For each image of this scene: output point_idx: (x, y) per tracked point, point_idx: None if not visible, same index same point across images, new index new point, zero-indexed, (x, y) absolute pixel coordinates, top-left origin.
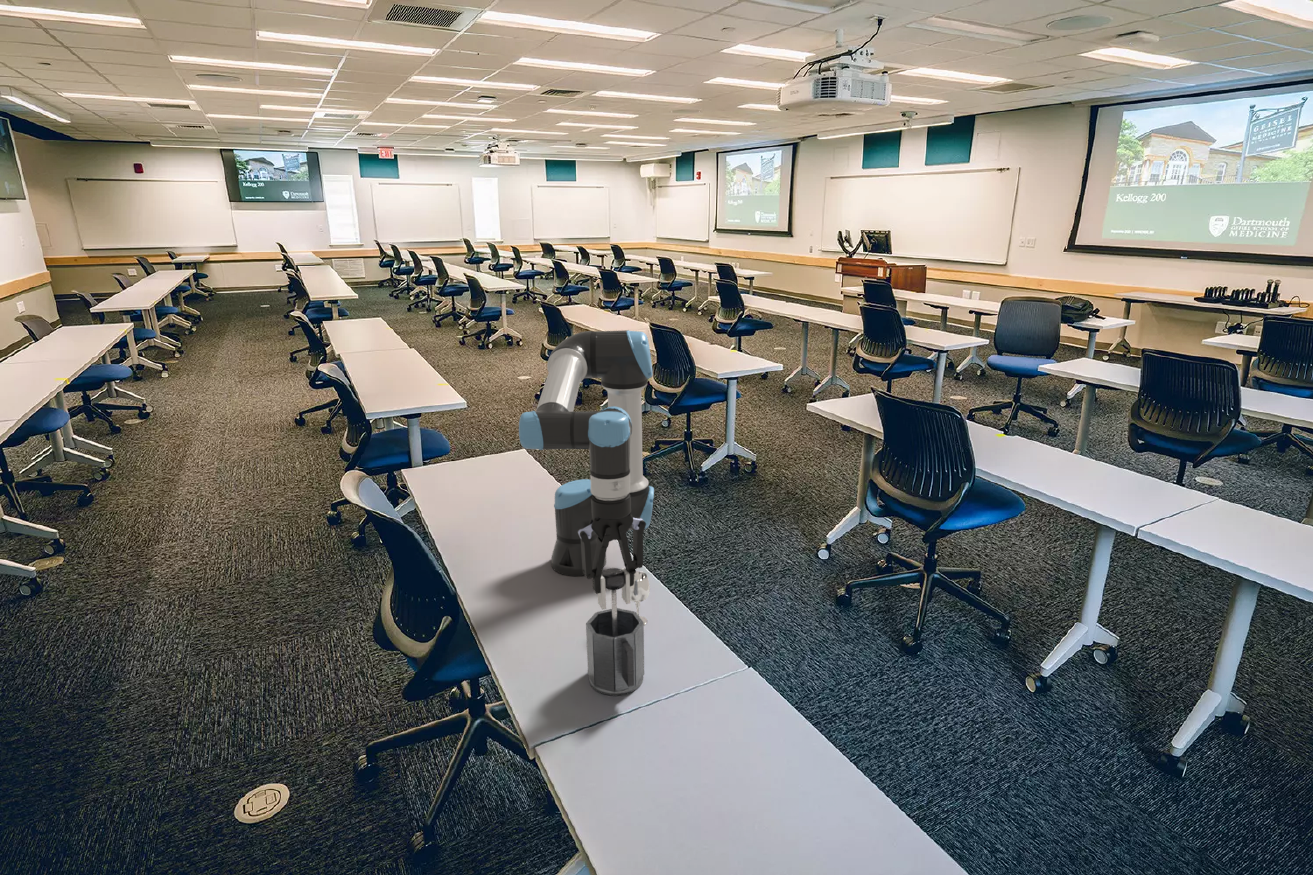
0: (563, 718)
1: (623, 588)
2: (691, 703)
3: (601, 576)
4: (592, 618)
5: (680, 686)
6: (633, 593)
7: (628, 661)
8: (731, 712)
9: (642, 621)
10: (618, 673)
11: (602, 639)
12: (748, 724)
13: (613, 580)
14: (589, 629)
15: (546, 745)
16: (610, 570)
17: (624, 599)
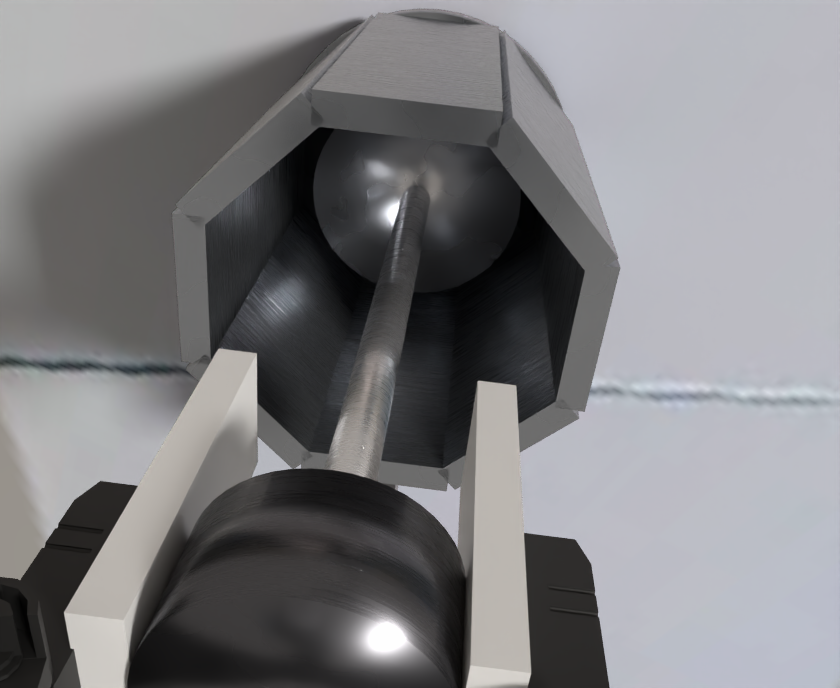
0: (109, 286)
1: (466, 515)
2: (620, 460)
3: (112, 685)
4: (247, 166)
5: (654, 362)
6: None
7: None
8: (711, 558)
9: (585, 397)
10: None
11: None
12: (713, 617)
13: None
14: (179, 293)
15: (23, 379)
16: (288, 644)
17: (467, 453)
